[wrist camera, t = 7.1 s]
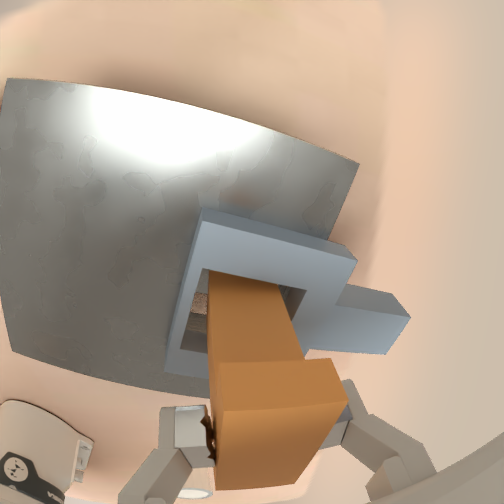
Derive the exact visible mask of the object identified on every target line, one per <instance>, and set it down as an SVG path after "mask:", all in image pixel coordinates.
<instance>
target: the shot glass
mask: <svg viewBox="0 0 504 504" xmlns="http://www.w3.org/2000/svg"><path fill="white" fill-rule="evenodd" d="M212 495H213V492H212V488H211V483H210V478H209V473H208V468H207V467H206V468H194V469H193V471H192V472H191V474H190V476H189V478H188V479H187V481H186V483H185V484H184V486H183V488H182V490H181V491H180V493H179V495H178V496H177V498H182V499H203V498H207V497H210V496H212Z"/></svg>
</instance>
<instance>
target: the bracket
mask: <svg viewBox="0 0 504 504" xmlns="http://www.w3.org/2000/svg"><path fill="white" fill-rule="evenodd" d="M357 262H358V261H357V259H356V258H355V257H354V256H353V255H352V253H351V252H350V251H349V250H348V249H347V248H346V246H345V245H341V244H338V243H334V242H331V241H327V240H324V239H320V238H317V237H313V236H310V235H306V234H302V233H299V232H295V231H292V230H288V229H284V228H281V227H277V226H273V225H270V224H266V223H262V222H258V221H255V220H251V219H247V218H243V217H239V216H236V215H232V214H228V213H224V212H220V211H216V210H212V209H208V208H204V207H202V210H201V214H200V217H199V221H198V224H197V228H196V231H195V235H194V239H193V242H192V246H191V250H190V253H189V257H188V261H187V264H186V268H185V272H184V276H183V280H182V284H181V288H180V292H179V296H178V300H177V304H176V308H175V312H174V316H173V321H172V325H171V329H170V334H169V338H168V342H167V347H166V351H165V363H164V372H167V373H172V374H178V375H184V376H191V377H197V378H204V379H209V370H208V350H207V333H203V332H197V331H192V330H186V329H185V327H186V324H187V320H188V317H189V313H190V309H191V306H192V302H193V299H194V295H195V292H196V288H197V285H198V281H199V278H200V274H201V271H202V268H205V269H210V270H214V271H219V272H223V273H228V274H232V275H237V276H242V277H246V278H251V279H256V280H261V281H265V282H270V283H275V284H280V285H285V286H290V287H291V289H290V291H289V293H288V295H287V297H286V299H285V302H284V304H285V306H286V309H287V312H288V314H289V317H290V320H291V323H292V325H293V328H294V331H295V333H296V336H297V339H298V342H299V344H300V347H301V350H302V352H303V355H304V357H305V355H306V353H307V352H308V350H309V349H317V350H327V351H339V352H352V353H367V354H384V355H385V354H386V353H387V352H388V351H389V349H390V348H391V346H392V345H393V344H394V342H395V341H396V339H397V338H398V336H399V335H400V333H401V332H402V331H403V329H404V327H405V326H406V324H407V323H408V321H409V320H410V318H411V317H410V315H409V314H408V313H407V312H406V310H405V309H404V308H403V307H402V306H401V304H400V303H399V302H398V300H397V299H396V298H395V297H394V296H393V294H391V293H387V292H382V291H377V290H373V289H368V288H364V287H359V286H355V285H350V284H346V283H347V281H348V279H349V277H350V275H351V273H352V271H353V270H354V268H355V266H356V264H357Z"/></svg>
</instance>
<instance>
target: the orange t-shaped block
mask: <svg viewBox="0 0 504 504" xmlns="http://www.w3.org/2000/svg"><path fill="white" fill-rule="evenodd" d="M206 326H207V350H208V370H209V387H210V403H211V417H212V427H213V436H214V441H213V442H214V443H213V447H214V449H215V458H216V467H213V468H214V479H215V489H216V490H239V489H253V488H264V487H273V486H281V485H289V484H294V483H295V482H296V481H297V479H298V478H299V476H300V475H301V474H302V472H303V471H304V470H305V468H306V467H307V465H308V464H309V463H310V461H311V460H312V458H313V457H314V455H315V454H316V452H317V451H318V449H319V448H320V446H321V445H322V443H323V442H324V440H325V439H326V437H327V436H328V434H329V433H330V431H331V429H332V428H333V426H334V425H335V423H336V421H337V420H338V418H339V416H340V415H341V413H342V411H343V410H344V408H345V406H346V405H347V403H348V401H349V399H348V397H347V394H346V392H345V390H344V387H343V385H342V383H341V381H340V378H339V376H338V374H337V371H336V369H335V367H334V365H333V362H332V360H331V358H325V359H312V360H305V358H304V355H303V352H302V350H301V347H300V344H299V342H298V339H297V336H296V333H295V331H294V328H293V325H292V323H291V320H290V317H289V314H288V312H287V309H286V306H285V304H284V301H283V298H282V296H281V293H280V290H279V288H278V285H277V284H275V283H270V282H265V281H261V280H256V279H251V278H246V277H242V276H237V275H232V274H228V273H223V272H219V271H214V270H209V278H208V296H207V316H206Z"/></svg>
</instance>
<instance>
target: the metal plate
mask: <svg viewBox="0 0 504 504" xmlns="http://www.w3.org/2000/svg"><path fill="white" fill-rule="evenodd" d="M359 165H360V164H359V163H357V162H355V161H353V160H350V159H348V158H346V157H344V156H342V155H339V154H337V153H334V152H332V151H329V150H327V149H324V148H322V147H319V146H317V145H314V144H312V143H309V142H306V141H304V140H301V139H298V138H296V137H293V136H290V135H287V134H285V133H282V132H279V131H276V130H273V129H270V128H267V127H264V126H261V125H258V124H255V123H252V122H249V121H246V120H242V119H239V118H236V117H233V116H229V115H226V114H222V113H219V112H215V111H212V110H208V109H204V108H201V107H197V106H193V105H189V104H185V103H181V102H177V101H173V100H168V99H164V98H160V97H155V96H150V95H145V94H141V93H135V92H130V91H125V90H119V89H113V88H107V87H101V86H95V85H88V84H80V83H72V82H64V81H54V80H43V79H29V78H7V81H6V86H5V91H4V95H3V100H2V106H1V112H0V296H1V302H2V308H3V313H4V318H5V323H6V327H7V332H8V336H9V340H10V344H11V348H12V351H14V352H16V353H19V354H22V355H24V356H27V357H30V358H33V359H36V360H39V361H42V362H45V363H48V364H51V365H54V366H57V367H60V368H63V369H67V370H70V371H74V372H77V373H81V374H84V375H88V376H92V377H96V378H100V379H104V380H108V381H112V382H116V383H121V384H125V385H130V386H135V387H140V388H145V389H150V390H155V391H161V392H167V393H173V394H179V395H186V396H193V397H200V398H208V399H210V387H209V379H204V378H197V377H191V376H184V375H178V374H172V373H167V372H164V363H165V351H166V347H167V342H168V338H169V334H170V329H171V325H172V321H173V316H174V312H175V308H176V304H177V300H178V296H179V292H180V288H181V284H182V280H183V276H184V272H185V268H186V264H187V261H188V257H189V253H190V250H191V246H192V242H193V239H194V235H195V231H196V228H197V224H198V221H199V217H200V214H201V210H202V207H204V208H208V209H212V210H216V211H220V212H224V213H228V214H232V215H236V216H239V217H243V218H247V219H251V220H255V221H258V222H262V223H266V224H270V225H273V226H277V227H281V228H284V229H288V230H292V231H295V232H299V233H302V234H306V235H310V236H313V237H317V238H320V239H324V240H327V239H328V237H329V235H330V233H331V231H332V228H333V226H334V224H335V222H336V219H337V217H338V215H339V212H340V210H341V208H342V205H343V203H344V201H345V198H346V196H347V194H348V191H349V189H350V187H351V184H352V182H353V179H354V177H355V175H356V172H357V170H358V167H359ZM209 270H210V269H205V268H202V271H201V274H200V278H199V281H198V285H197V288H196V292H199V293H204V294H208V278H209ZM278 288H279V290H280V293H281V296H282V298H283V301H284V302H285V299H286V297H287V295H288V293H289V291H290V289H291V287H290V286H285V285H280V284H278ZM206 316H207V315H203V314H198V313H192V312H190V313H189V317H188V320H187V324H186V327H185V329H186V330H192V331H197V332H203V333H207V326H206Z"/></svg>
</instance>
